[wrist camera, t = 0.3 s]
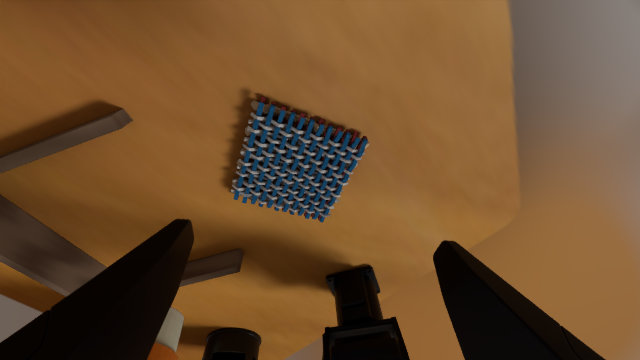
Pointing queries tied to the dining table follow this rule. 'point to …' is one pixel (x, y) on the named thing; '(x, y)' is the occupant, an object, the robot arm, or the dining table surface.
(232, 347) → the french press
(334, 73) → the dining table surface
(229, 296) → the dining table surface
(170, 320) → the reusable coffee cup
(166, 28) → the dining table surface
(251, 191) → the woven mat
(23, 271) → the box
